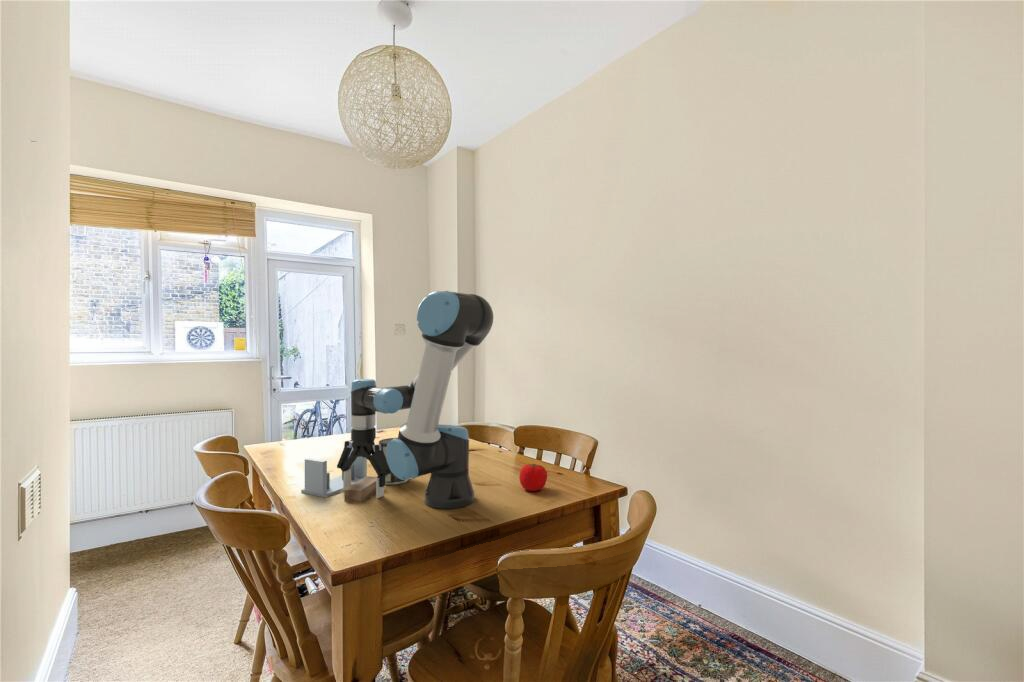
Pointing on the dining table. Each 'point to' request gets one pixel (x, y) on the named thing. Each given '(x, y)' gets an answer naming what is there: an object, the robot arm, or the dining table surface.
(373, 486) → the shelf board
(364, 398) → the robot arm
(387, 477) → the coffee can
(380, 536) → the dining table surface
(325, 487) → the peg cradle
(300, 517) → the dining table surface
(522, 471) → the tomato
